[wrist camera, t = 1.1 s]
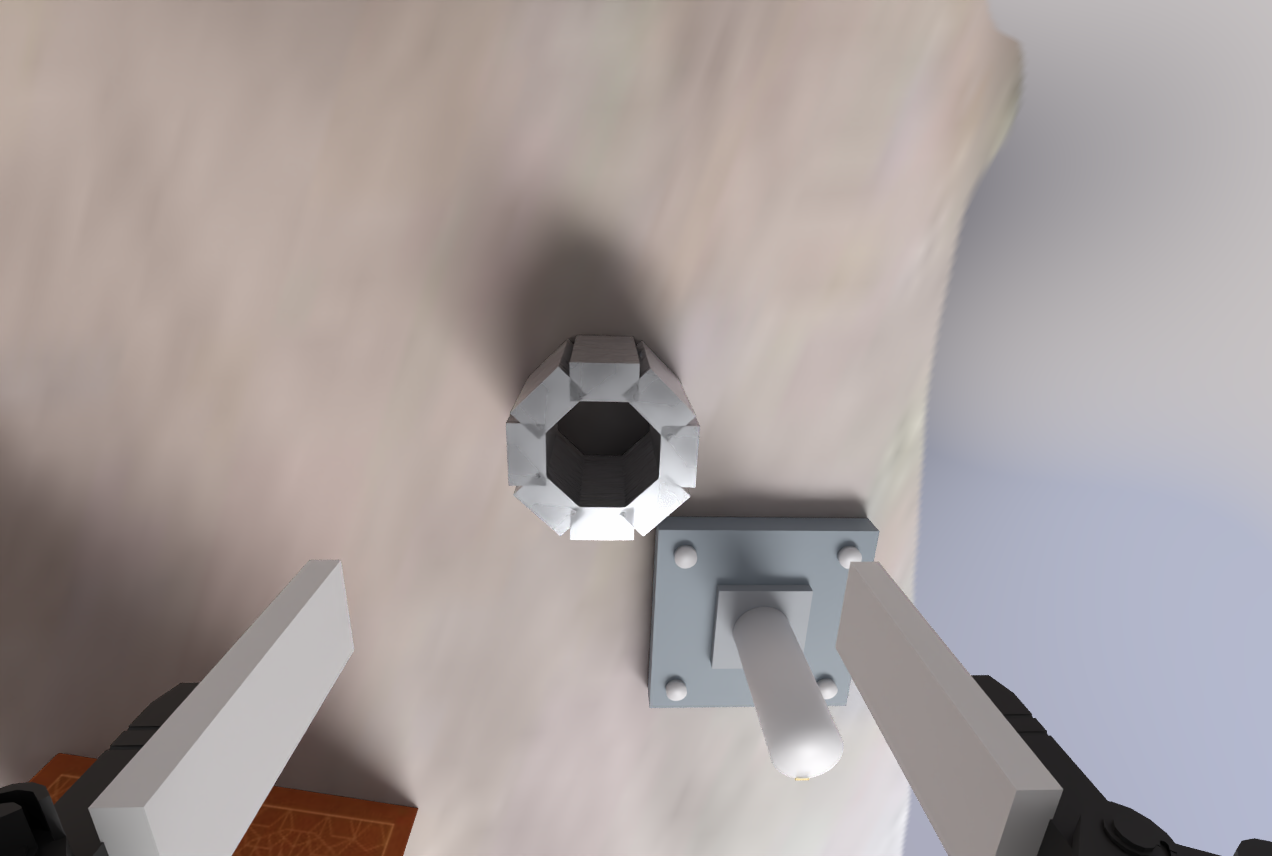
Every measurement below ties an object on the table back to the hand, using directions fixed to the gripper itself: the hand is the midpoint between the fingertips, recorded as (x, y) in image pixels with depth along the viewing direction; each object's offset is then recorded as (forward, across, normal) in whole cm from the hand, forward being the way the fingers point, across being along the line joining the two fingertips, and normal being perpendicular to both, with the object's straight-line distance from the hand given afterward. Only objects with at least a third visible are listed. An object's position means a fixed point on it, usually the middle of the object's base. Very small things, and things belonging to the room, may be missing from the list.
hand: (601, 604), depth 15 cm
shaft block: (+16, +9, -12) cm, 22 cm away
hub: (+16, 0, 0) cm, 16 cm away
